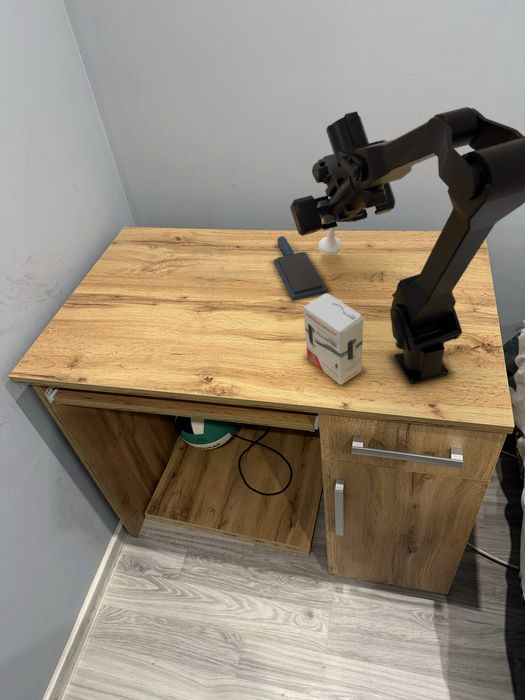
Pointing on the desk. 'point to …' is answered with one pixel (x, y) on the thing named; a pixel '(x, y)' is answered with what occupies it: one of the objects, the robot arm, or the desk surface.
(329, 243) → the chess piece
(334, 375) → the ink box
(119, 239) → the desk surface
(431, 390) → the desk surface
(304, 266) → the scrub brush
